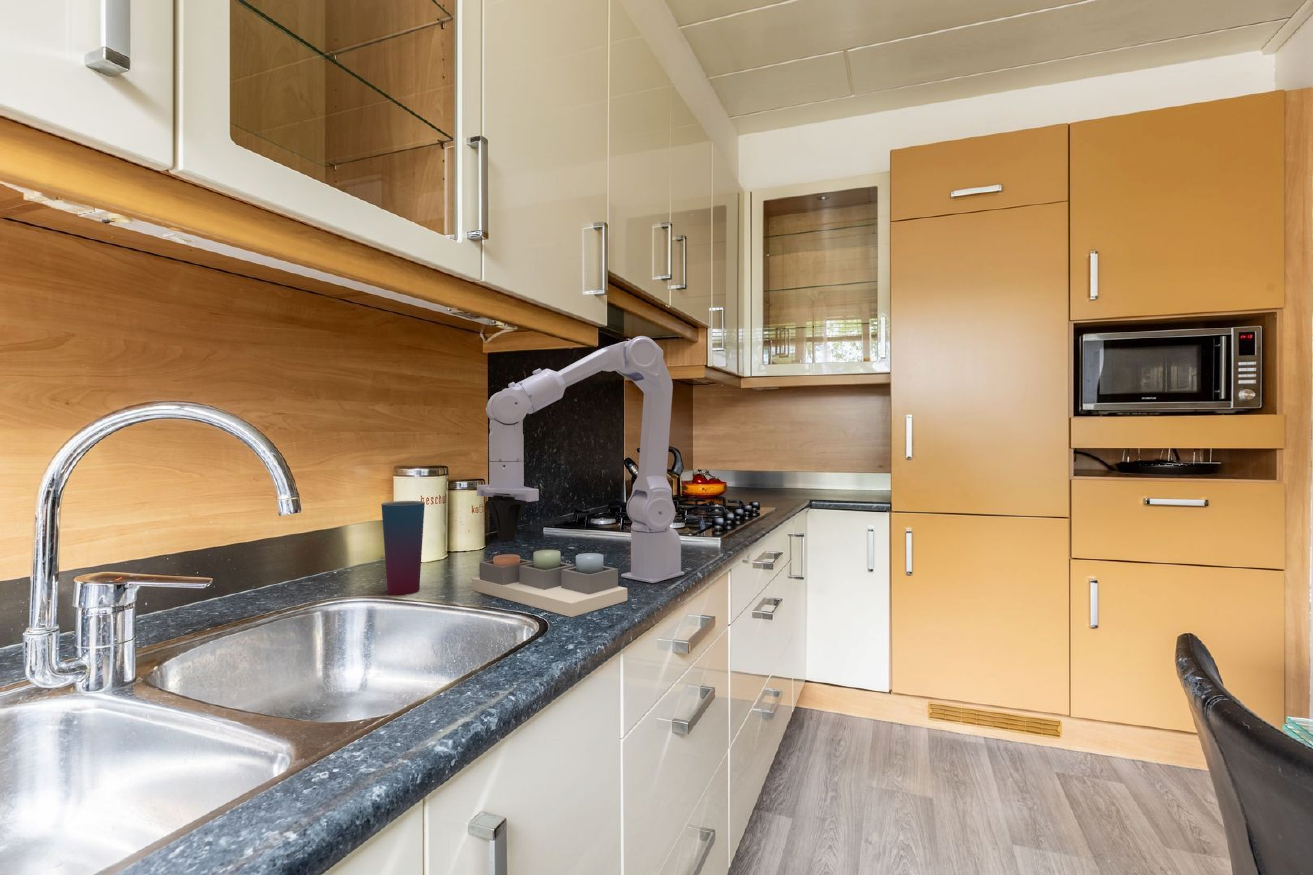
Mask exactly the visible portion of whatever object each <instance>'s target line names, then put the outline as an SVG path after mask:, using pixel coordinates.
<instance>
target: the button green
mask: <svg viewBox="0 0 1313 875" xmlns="http://www.w3.org/2000/svg"><path fill="white" fill-rule="evenodd" d="M532 553H533V562H534V568H536V569H541V570H549V569H554V568H559V567H560V562H561V551H560V550H557V549H556V550H555V549H541V550H536V551H534V552H532Z"/></svg>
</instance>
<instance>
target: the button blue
mask: <svg viewBox="0 0 1313 875" xmlns="http://www.w3.org/2000/svg"><path fill="white" fill-rule="evenodd" d="M603 566H604V554H602V553H597V552H587V553H585V552H583V553H579V554H577V555H575V567H576V572H580V573H585V574H592V573H597V572H602V571H603Z"/></svg>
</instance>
